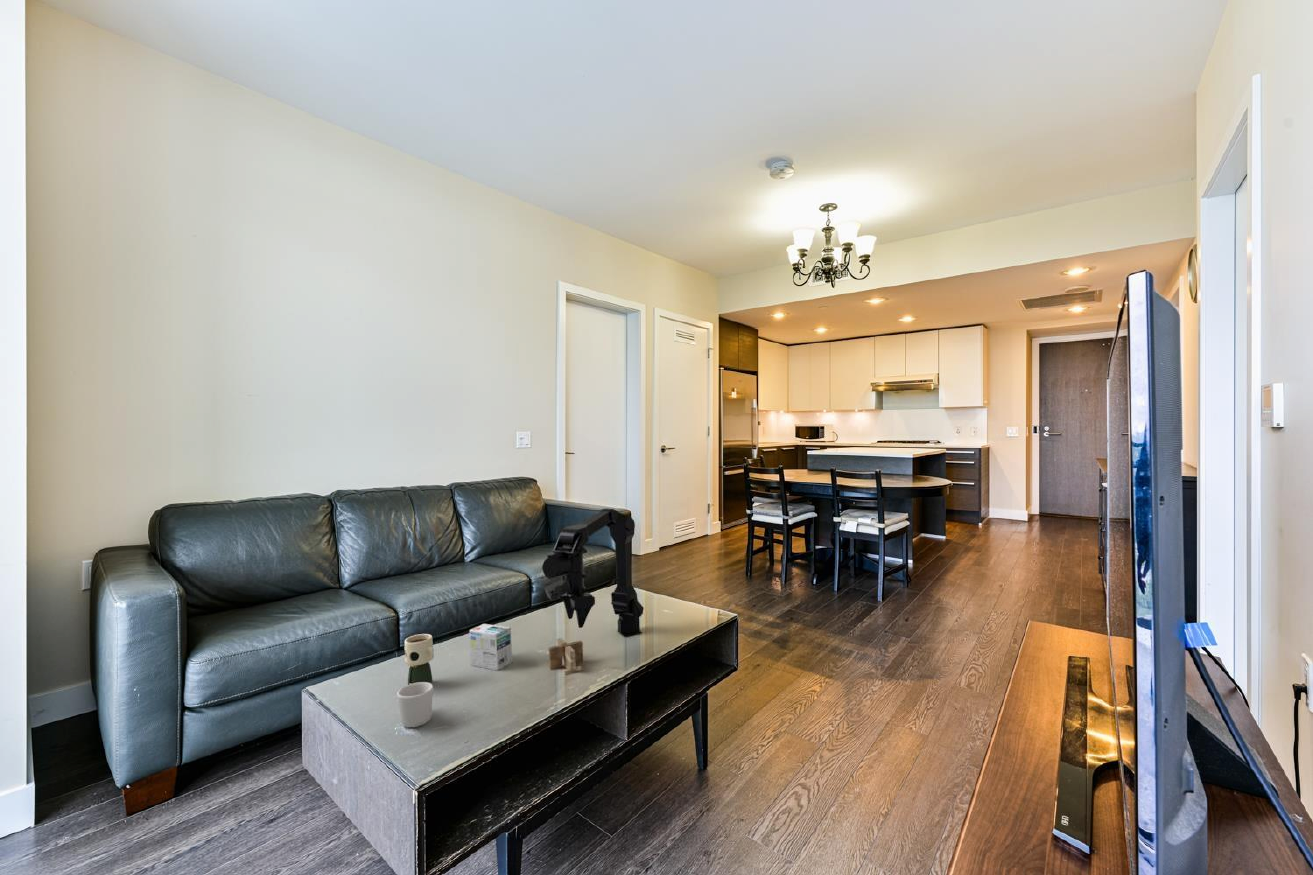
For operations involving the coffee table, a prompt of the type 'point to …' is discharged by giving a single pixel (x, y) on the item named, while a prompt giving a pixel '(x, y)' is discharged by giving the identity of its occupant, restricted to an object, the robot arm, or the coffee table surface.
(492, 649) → the light bulb box
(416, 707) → the cup
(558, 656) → the walnut plate
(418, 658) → the character mug
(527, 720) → the coffee table surface
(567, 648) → the maple jig
